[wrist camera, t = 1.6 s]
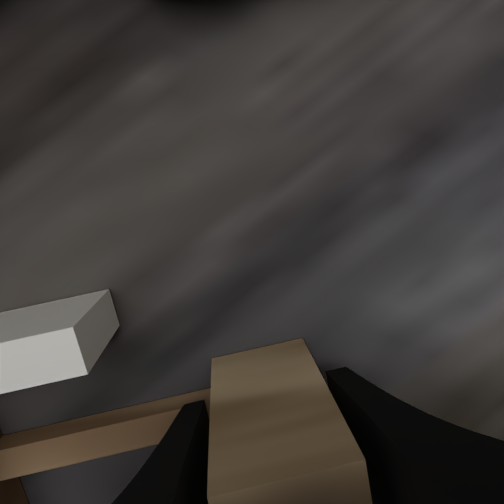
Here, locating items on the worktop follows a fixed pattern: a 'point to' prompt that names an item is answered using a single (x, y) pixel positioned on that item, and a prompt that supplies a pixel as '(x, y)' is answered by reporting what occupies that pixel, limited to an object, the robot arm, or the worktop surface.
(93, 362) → the cubby lane
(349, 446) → the tethered block
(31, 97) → the worktop surface
